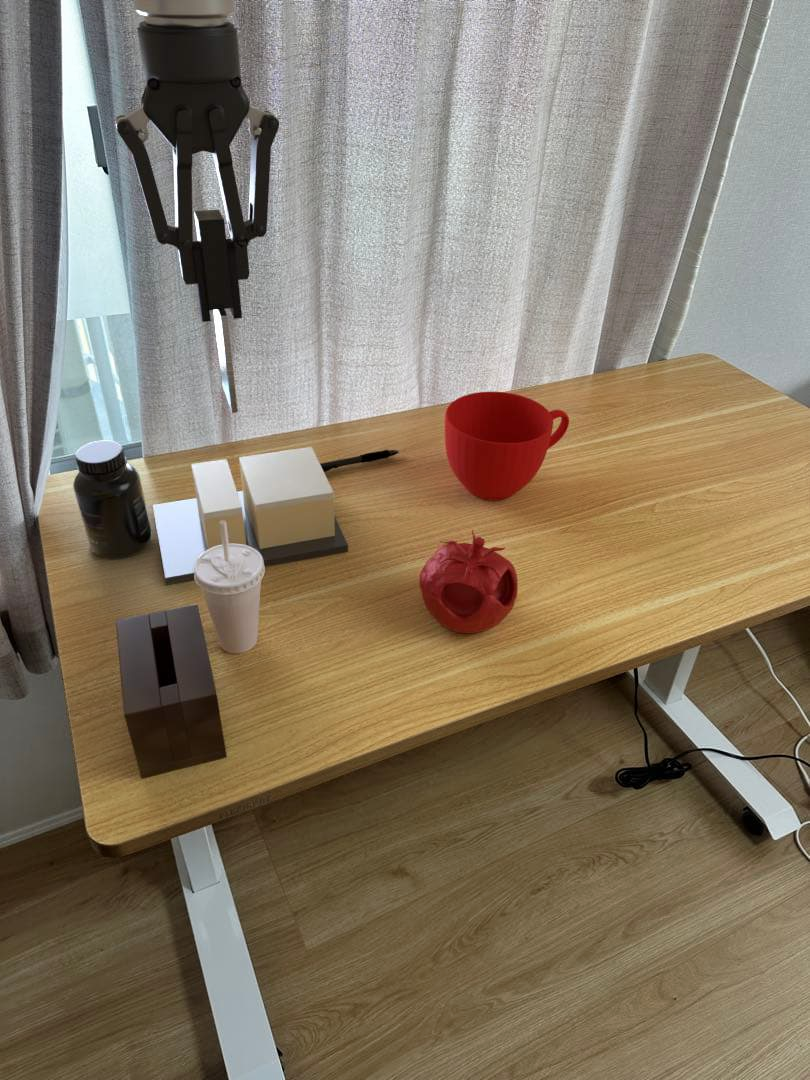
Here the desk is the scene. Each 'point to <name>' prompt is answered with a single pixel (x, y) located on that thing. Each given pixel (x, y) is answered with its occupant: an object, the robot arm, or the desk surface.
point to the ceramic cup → (498, 441)
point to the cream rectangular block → (218, 502)
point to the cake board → (188, 542)
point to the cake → (287, 497)
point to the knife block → (169, 691)
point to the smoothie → (231, 591)
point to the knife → (218, 290)
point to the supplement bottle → (111, 501)
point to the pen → (359, 459)
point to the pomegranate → (468, 586)
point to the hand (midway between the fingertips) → (220, 313)
